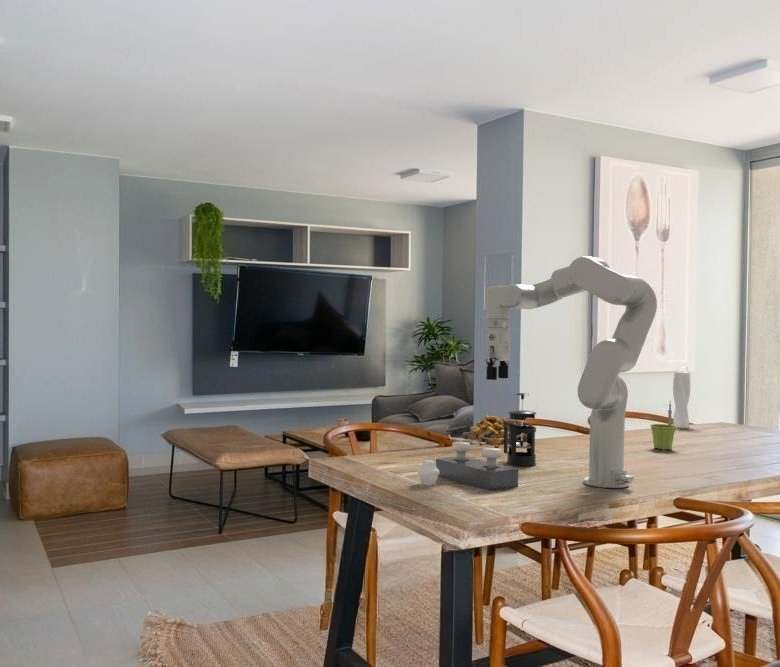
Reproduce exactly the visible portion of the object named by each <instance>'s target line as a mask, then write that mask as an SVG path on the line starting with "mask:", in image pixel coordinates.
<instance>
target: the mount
mask: <svg viewBox="0 0 780 667" xmlns="http://www.w3.org/2000/svg"><path fill="white" fill-rule="evenodd" d="M435 466H436V467H437V468H438V470H439V471H440V473H439V475H438V477H440V478H444V479H448V480H450V481H454V482H458V483H462V484H466V485H468V486H472V487H476V488H480V489H484V490H488V491H491V492H492V491H498V490H505V489H513V488H518V487H519V468H517V467H514V466H510V465H508V466H507V465H504V464H503V465H502V464H500V463H496V468H495V469H489V468H487V460H482V459H481V460H480V459H476V458H474V457H467V456H466V461H463V462H459V461H457V456H450V457H440V458H435Z"/></svg>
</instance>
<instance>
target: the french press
mask: <svg viewBox="0 0 780 667" xmlns="http://www.w3.org/2000/svg"><path fill="white" fill-rule="evenodd" d="M515 395H516V396H520V400H521V410H517V409H516V410H509V411H508V414H509V420H516V421H521V423H520V425H521V426H505V427H504V444H503V453H504V454H507V455H506V456H507V457H506V458H507V461H506V465H508V466H510V467H519V468H532V467H535V466H537V463H536V458H537V457H536V456H537V455H536V454H535V450H536V448H535V447H536V444H535V443H536V442H535V441H536V440H535V438H536V433H537V427H535V426H534V427H532V426H527V425H526V426H523V422H524V421H525V420H527V419H532V420H533V419H535V418H536V415H537V412H536V411H530V410H524V399H525V396H529V395H530V394H529V393H525V392H517V393H516V394H515ZM508 431H509V443H508ZM516 433H521V441H520V442H516ZM522 433H527V440H526V442H524V440H523V441H522ZM517 449H526V451H517Z"/></svg>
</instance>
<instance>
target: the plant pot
mask: <svg viewBox="0 0 780 667" xmlns="http://www.w3.org/2000/svg"><path fill="white" fill-rule="evenodd" d="M649 426H650V429H651V434H652V441H653V448H654V449H655V448H658V449H657V450H660V449H669V450H672V448H673V441H674V435H675V432H676V429H677V426H674V425H673V424H671V425H668V423H667V424H665V423H664V424H663V423H653V424H649Z"/></svg>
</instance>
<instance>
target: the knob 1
mask: <svg viewBox="0 0 780 667" xmlns="http://www.w3.org/2000/svg"><path fill="white" fill-rule="evenodd" d="M451 448H452V449H451V450H452V451H455V452H456V457H457V461H459V462H463V461H466V457H467V455H466V454H467V453H466V452H470V451H471V442H467V441H453V442H452V447H451Z"/></svg>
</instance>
